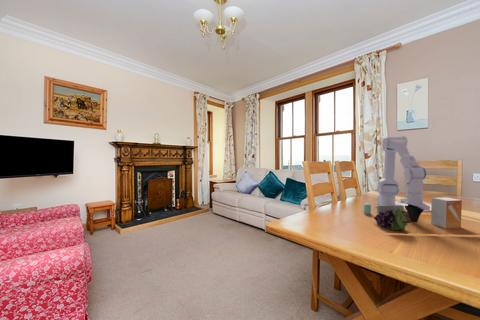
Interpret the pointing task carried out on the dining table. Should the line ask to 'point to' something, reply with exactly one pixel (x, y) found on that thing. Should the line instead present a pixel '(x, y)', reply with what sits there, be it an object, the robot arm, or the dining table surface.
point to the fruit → (392, 220)
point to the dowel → (367, 209)
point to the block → (405, 214)
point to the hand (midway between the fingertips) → (413, 221)
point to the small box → (446, 212)
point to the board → (388, 208)
